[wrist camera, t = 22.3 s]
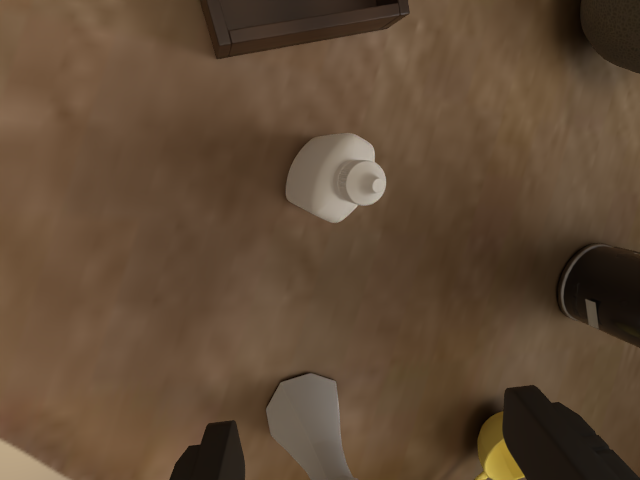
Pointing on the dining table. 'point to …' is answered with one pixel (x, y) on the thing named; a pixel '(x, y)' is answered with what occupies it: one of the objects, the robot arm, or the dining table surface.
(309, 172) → the eye dropper bottle
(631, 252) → the robot arm
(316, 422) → the flask
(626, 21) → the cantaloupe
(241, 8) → the tray
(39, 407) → the dining table surface
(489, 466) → the ladle
